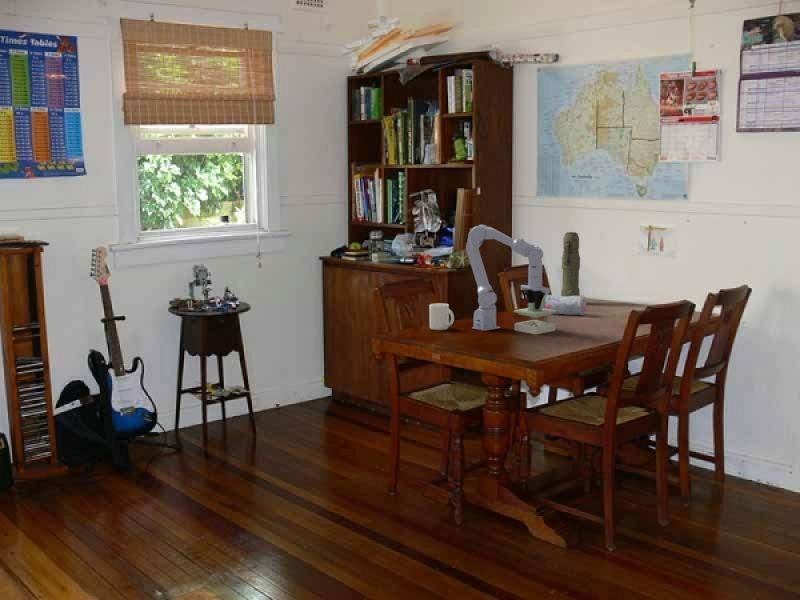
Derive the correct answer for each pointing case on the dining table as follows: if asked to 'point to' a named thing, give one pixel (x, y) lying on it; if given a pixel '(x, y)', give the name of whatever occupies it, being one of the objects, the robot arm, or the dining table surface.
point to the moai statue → (570, 265)
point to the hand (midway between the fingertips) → (534, 308)
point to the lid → (534, 311)
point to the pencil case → (565, 304)
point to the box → (534, 327)
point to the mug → (440, 316)
